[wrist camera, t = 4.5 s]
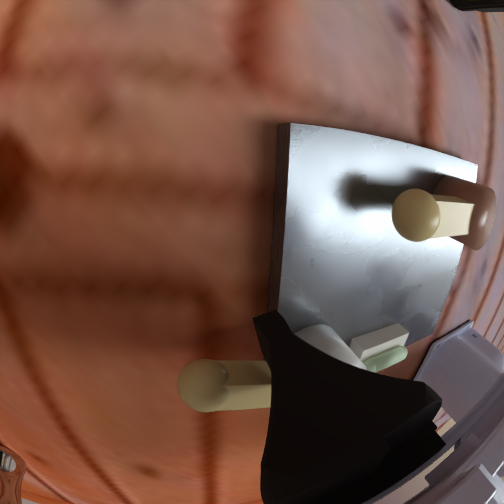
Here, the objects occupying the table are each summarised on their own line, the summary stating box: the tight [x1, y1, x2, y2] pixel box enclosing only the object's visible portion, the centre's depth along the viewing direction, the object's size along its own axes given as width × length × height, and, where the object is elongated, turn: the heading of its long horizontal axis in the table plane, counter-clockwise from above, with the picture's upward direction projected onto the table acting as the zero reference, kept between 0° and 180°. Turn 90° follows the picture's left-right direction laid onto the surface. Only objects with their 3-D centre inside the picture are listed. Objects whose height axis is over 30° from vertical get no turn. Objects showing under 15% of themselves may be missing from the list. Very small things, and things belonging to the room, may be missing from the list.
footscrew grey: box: [177, 324, 366, 412], centre depth 12 cm, size 9×4×3 cm, turn 71°
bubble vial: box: [349, 323, 409, 373], centre depth 15 cm, size 4×2×2 cm, turn 87°
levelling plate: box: [264, 123, 478, 361], centre depth 15 cm, size 15×14×1 cm
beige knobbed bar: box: [391, 175, 496, 250], centre depth 11 cm, size 9×4×3 cm, turn 87°
